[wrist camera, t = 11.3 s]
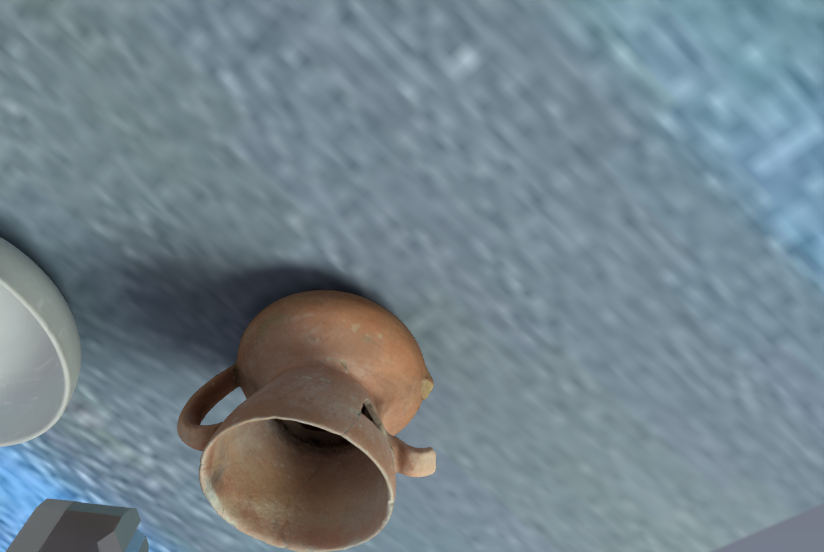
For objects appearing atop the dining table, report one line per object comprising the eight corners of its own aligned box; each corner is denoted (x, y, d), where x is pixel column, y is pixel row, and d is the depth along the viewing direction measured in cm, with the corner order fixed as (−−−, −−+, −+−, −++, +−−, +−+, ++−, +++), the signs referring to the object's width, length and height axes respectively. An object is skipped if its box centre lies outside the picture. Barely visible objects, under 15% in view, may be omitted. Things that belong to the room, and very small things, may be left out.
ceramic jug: (454, 285, 46) (445, 426, 34) (435, 425, 54) (422, 580, 42) (214, 257, 47) (123, 387, 35) (230, 399, 54) (159, 545, 42)
